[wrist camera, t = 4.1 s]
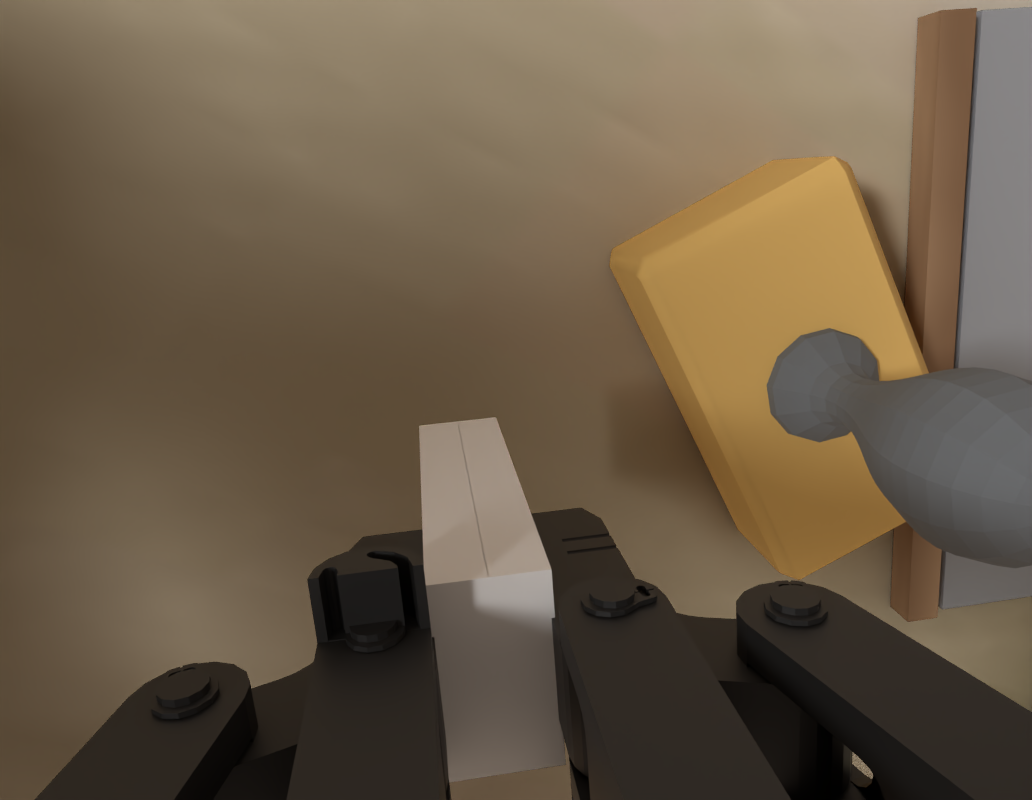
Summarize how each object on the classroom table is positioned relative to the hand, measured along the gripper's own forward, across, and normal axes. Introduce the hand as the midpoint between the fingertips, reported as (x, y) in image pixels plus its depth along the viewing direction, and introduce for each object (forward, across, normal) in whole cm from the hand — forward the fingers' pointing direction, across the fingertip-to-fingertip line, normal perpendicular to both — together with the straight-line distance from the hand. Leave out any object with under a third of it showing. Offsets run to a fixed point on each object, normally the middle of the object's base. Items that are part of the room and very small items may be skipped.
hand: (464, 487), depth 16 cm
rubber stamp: (+8, +9, 0) cm, 12 cm away
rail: (+8, +14, 0) cm, 16 cm away
